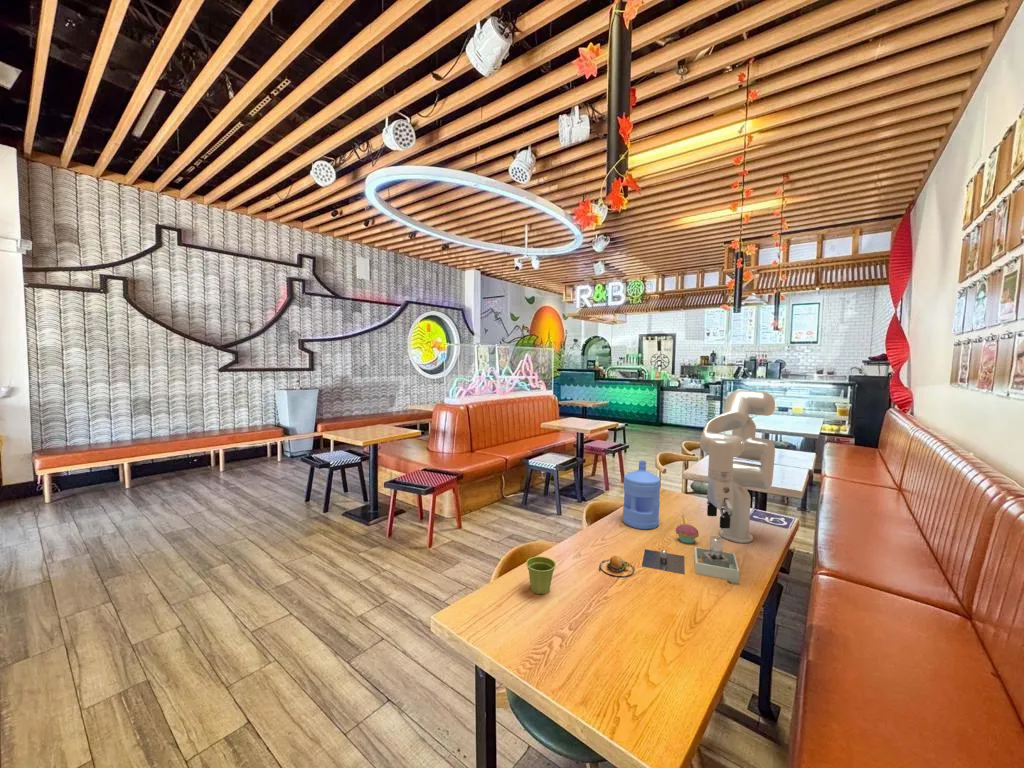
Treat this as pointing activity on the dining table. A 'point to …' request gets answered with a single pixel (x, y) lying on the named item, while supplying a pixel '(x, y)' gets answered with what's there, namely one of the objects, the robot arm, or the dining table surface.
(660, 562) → the stud block
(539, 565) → the plant pot
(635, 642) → the dining table surface
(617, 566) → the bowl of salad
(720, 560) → the grey piece
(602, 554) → the dining table surface
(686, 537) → the cupcake
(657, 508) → the water jug
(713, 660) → the dining table surface
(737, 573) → the bin
